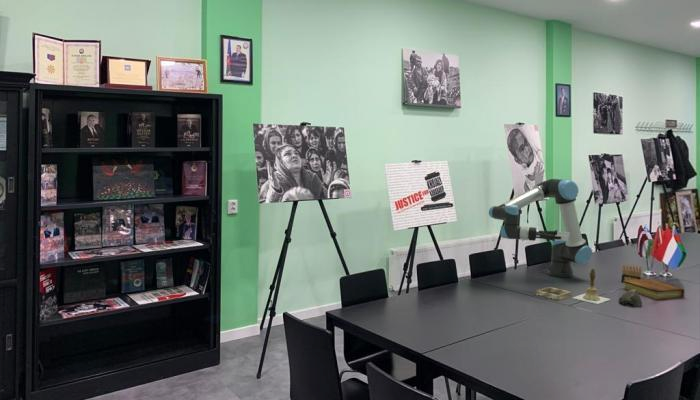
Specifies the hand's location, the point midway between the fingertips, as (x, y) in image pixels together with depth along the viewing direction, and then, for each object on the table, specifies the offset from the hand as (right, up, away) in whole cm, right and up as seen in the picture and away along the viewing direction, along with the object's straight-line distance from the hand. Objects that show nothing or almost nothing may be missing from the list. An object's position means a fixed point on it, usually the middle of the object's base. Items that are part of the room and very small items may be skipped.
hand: (568, 236), depth 281 cm
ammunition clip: (+48, -30, +24) cm, 62 cm away
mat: (+8, -33, -10) cm, 35 cm away
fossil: (+24, -34, -18) cm, 45 cm away
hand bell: (+8, -33, -10) cm, 35 cm away
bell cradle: (-10, -32, -3) cm, 34 cm away
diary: (+49, -33, +3) cm, 59 cm away
